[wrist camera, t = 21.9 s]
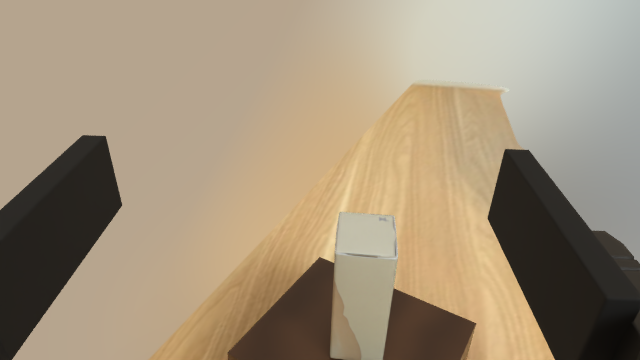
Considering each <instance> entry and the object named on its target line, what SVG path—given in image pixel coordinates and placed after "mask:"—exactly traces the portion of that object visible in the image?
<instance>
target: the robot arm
mask: <svg viewBox="0 0 640 360" xmlns="http://www.w3.org/2000/svg"><path fill="white" fill-rule="evenodd" d="M121 206H122V202H121V198H120V194H119V191H118V186H117V182H116V178H115V173H114V169H113V165H112V161H111V157H110V153H109V148H108V144H107V140H106V136H87V135H83V136H81V137H80V138H79V139H78V140H77V141H76V142H75V143H74V144H73V145H72V146H70V147H69V148H68V149H67V150H66V151H65V152H64V153H63V154H62V155H61V156H59V157H58V158H57V159H56V160H55V161H54V162H53V163H52V164H51V165H49V166H48V167H47V168H46V169H45V170H44V171H43V172H42V173H41V174H40V175H38V176H37V177H36V178H35V179H34V180H33V181H32V182H31V183H30V184H29V185H27V186H26V187H25V188H24V189H23V190H22V191H21V192H20V193H19V194H18V195H16V196H15V197H14V198H13V199H12V200H11V201H10V202H9V203H8V204H7V205H5V206H4V207H3V208H2V209H1V210H0V360H12V359H13V357H14V356H15V355H16V353H17V352H18V350H19V349H20V348H21V346H22V345H23V343H24V342H25V340H26V339H27V337H28V336H29V335H30V333H31V332H32V331H33V329H34V328H35V327H36V325H37V324H38V322H39V321H40V320H41V318H42V317H43V315H44V314H45V313H46V311H47V310H48V308H49V307H50V305H51V304H52V303H53V301H54V300H55V299H56V297H57V296H58V294H59V293H60V292H61V290H62V289H63V287H64V286H65V285H66V283H67V282H68V280H69V279H70V278H71V276H72V275H73V273H74V272H75V271H76V269H77V268H78V266H79V265H80V263H81V262H82V260H83V259H84V258H85V257H86V255H87V254H88V252H89V251H90V250H91V248H92V247H93V245H94V244H95V243H96V241H97V240H98V238H99V237H100V236H101V234H102V233H103V231H104V230H105V229H106V227H107V226H108V224H109V223H110V222H111V220H112V219H113V217H114V216H115V215H116V213H117V212H118V210H119V209H120V208H121ZM488 220H489V222H490V225H491V227H492V229H493V231H494V233H495V235H496V237H497V239H498V241H499V243H500V245H501V248H502V250H503V252H504V254H505V256H506V258H507V260H508V262H509V264H510V266H511V268H512V271H513V273H514V275H515V277H516V279H517V281H518V283H519V285H520V287H521V289H522V291H523V294H524V296H525V298H526V300H527V302H528V304H529V306H530V308H531V310H532V312H533V315H534V317H535V319H536V321H537V323H538V325H539V327H540V329H541V331H542V333H543V335H544V338H545V340H546V342H547V344H548V346H549V348H550V350H551V352H552V354H553V356H554V358H555V360H640V264H639V262H638V261H637V260H634V256H633V255H632V254H631V253H630V252H629V250H628V249H627V248H626V247H625V246H624V244H622V243H621V242H620V241H618V240H617V239H615V238H614V237H612V236H611V235H610V234H608V233H607V232H605V231H591V230H590V228H589V227H588V226H587V225H586V223H585V222H584V221H583V219H582V218H581V217H580V215H579V214H578V213H577V212H576V210H575V209H574V208H573V207H572V205H571V204H570V203H569V201H568V200H567V199H566V197H565V196H564V195H563V194H562V192H561V191H560V190H559V189H558V187H557V186H556V185H555V183H554V182H553V181H552V179H551V178H550V177H549V176H548V174H547V173H546V172H545V170H544V169H543V168H542V167H541V166H540V164H539V163H538V161H537V160H536V159H535V158H534V156H533V155H532V154H531V152H530V151H529V150H513V149H505V151H504V155H503V159H502V163H501V167H500V171H499V175H498V179H497V183H496V187H495V191H494V195H493V199H492V203H491V207H490V211H489V215H488Z"/></svg>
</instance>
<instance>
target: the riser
mask: <svg viewBox="0 0 640 360" xmlns="http://www.w3.org/2000/svg"><path fill="white" fill-rule="evenodd" d="M333 281H334V263H332V262H330V261H328V260H325V259H323V258H321V257H319V259H318V260H317V261H316V262H315V263H314V264H313V265H312V266H311V267H310V268H309V269H308V270H307V271H306V272H305V273H304V274H303V275H302V276H301V277H300V278H299V279H298V280H297V281H296V282H295V283H294V284H293V286H292V287H291V288H290V289H289V290H288V291H287V292H286V293H285V294H284V295H283V296H282V297H281V298H280V299H279V300H278V301H277V302H276V303H275V304H274V305H273V306H272V307H271V308H270V309H269V310H268V311H267V313H266V314H265V315H264V316H263V317H262V318H261V319H260V320H259V321H258V322H257V323H256V324H255V325H254V326H253V327H252V328H251V329H250V330H249V331H248V332H247V333H246V334H245V335H244V336H243V337H242V339H241V340H240V341H239V342H238V343H237V344H236V345H235V346H234V347H233V348H232V349H231V350H230V351H229V352H228V360H343V359H335V358H331V357H330V340H331V319H332V301H333ZM475 326H476V323H474V322H472V321H469V320H467V319H465V318H462V317H460V316H457V315H455V314H453V313H450V312H448V311H446V310H443V309H441V308H439V307H436V306H434V305H431V304H429V303H427V302H424V301H422V300H420V299H417V298H415V297H413V296H410V295H408V294H406V293H403V292H401V291H398V290H396V289H394V288H393V295H392V301H391V308H390V315H389V321H388V328H387V335H386V341H385V348H384V355H383V360H466V359H467V355H468V351H469V348H470V344H471V340H472V337H473V333H474V330H475Z"/></svg>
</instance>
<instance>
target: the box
mask: <svg viewBox="0 0 640 360" xmlns="http://www.w3.org/2000/svg"><path fill="white" fill-rule="evenodd" d="M397 260H398V249H397V236H396V225H395V217H394V216H393V215H378V214H364V213H349V212H340V213H339V218H338V224H337V232H336V243H335V261H334V281H333V301H332V319H331V340H330V357H331V358H335V359H343V360H383V355H384V348H385V341H386V335H387V328H388V321H389V315H390V308H391V301H392V295H393V288H394V281H395V275H396V268H397Z"/></svg>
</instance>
